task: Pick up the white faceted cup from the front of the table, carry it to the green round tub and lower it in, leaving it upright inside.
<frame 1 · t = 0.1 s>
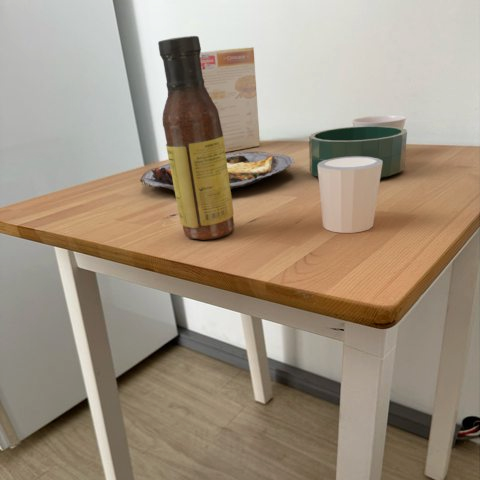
sauce bottle: (207, 234, 56), on the table
coffeecake box: (224, 151, 106), on the table
white faceted cup: (347, 226, 54), on the table
food plate: (218, 182, 79), on the table
green round tub: (355, 172, 76), on the table
pale round bowl: (376, 157, 86), on the table
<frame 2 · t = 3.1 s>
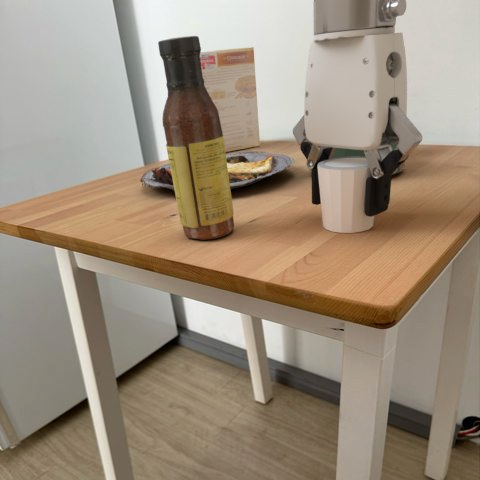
hand: (348, 206, 53), 2 cm above the table, tool pointing down, fingers closed on white faceted cup, 6 cm apart
white faceted cup: (347, 226, 54), on the table, touching gripper
everything else where it was.
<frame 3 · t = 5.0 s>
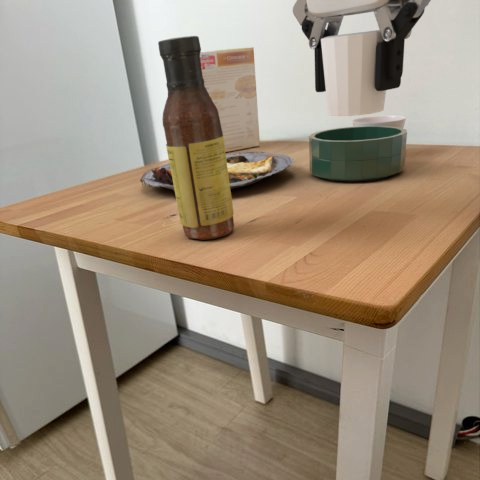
hand: (356, 88, 48), 14 cm above the table, tool pointing down, fingers closed on white faceted cup, 6 cm apart
white faceted cup: (355, 113, 49), point 12 cm above the table, touching gripper
everything else where it was.
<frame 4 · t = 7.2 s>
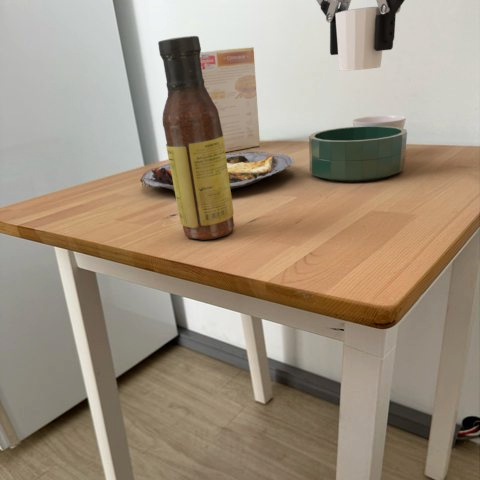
hand: (360, 51, 65), 17 cm above the table, tool pointing down, fingers closed on white faceted cup, 6 cm apart
white faceted cup: (359, 70, 66), point 15 cm above the table, touching gripper
everything else where it was.
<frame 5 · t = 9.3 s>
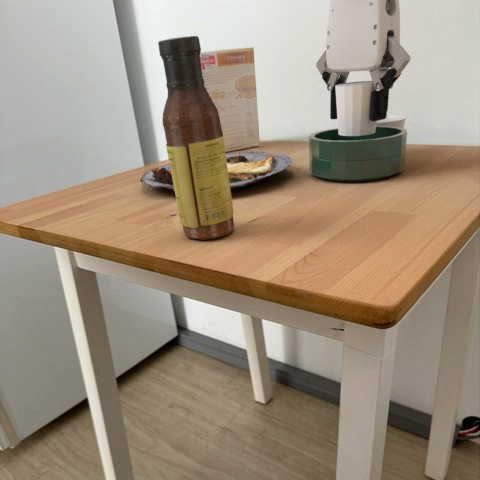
hand: (357, 118, 72), 8 cm above the table, tool pointing down, fingers closed on white faceted cup, 6 cm apart
white faceted cup: (356, 134, 73), point 6 cm above the table, touching gripper
everything else where it was.
when the fingers open (3 cm above the table, at t = 11.2 s): white faceted cup stays where it is, resting on green round tub.
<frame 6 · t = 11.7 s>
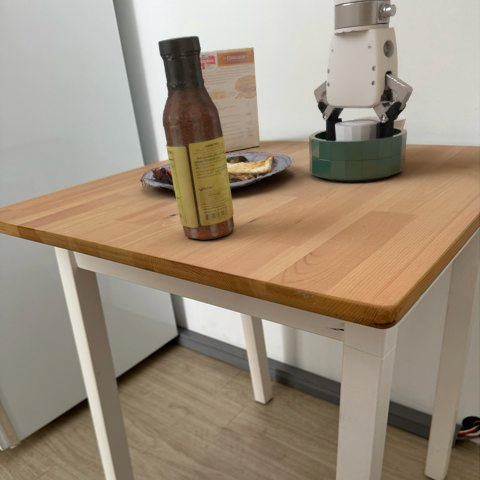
hand: (357, 147, 74), 4 cm above the table, tool pointing down, fingers open, 9 cm apart
white faceted cup: (356, 170, 76), resting on green round tub
everything else where it was.
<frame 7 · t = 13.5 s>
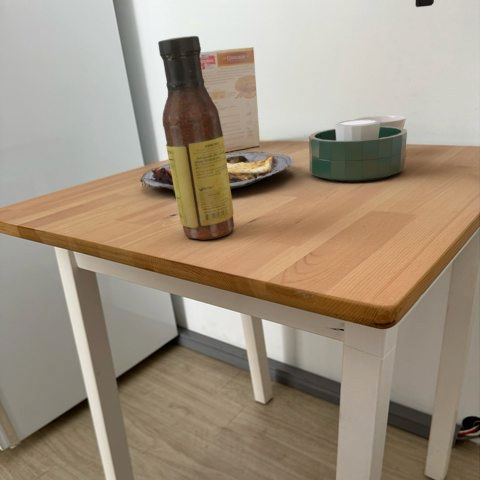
nothing on the table moved.
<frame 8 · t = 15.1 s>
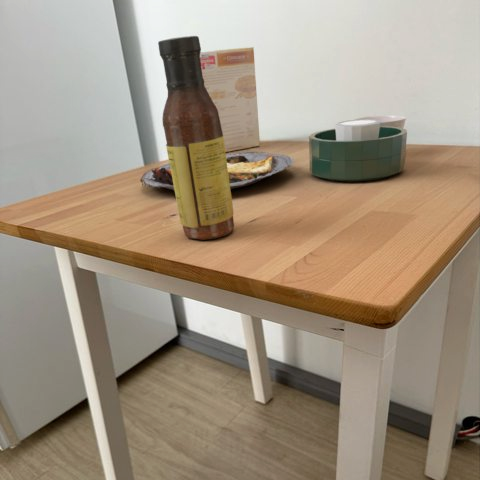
nothing on the table moved.
at the end: white faceted cup inside the target area in the green round tub (0.0 cm from its centre), point 0.4 cm above the green round tub's base; white faceted cup tilted 0°; the gripper is holding nothing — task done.
